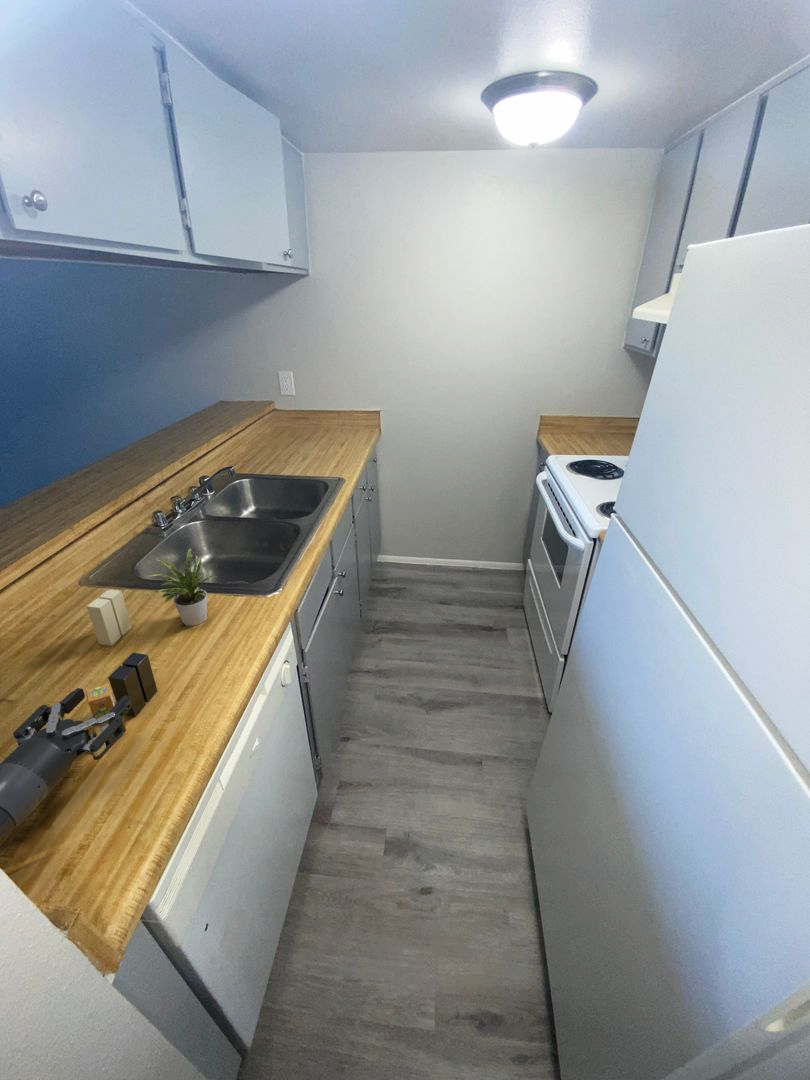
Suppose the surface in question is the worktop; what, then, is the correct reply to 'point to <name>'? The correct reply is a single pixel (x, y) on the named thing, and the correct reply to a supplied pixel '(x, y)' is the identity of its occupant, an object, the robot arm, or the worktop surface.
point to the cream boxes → (109, 617)
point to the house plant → (186, 592)
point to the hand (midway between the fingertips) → (105, 695)
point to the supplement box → (100, 701)
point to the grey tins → (134, 682)
